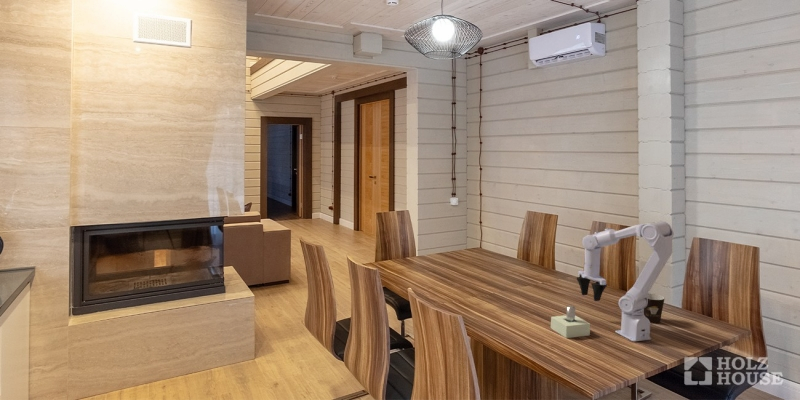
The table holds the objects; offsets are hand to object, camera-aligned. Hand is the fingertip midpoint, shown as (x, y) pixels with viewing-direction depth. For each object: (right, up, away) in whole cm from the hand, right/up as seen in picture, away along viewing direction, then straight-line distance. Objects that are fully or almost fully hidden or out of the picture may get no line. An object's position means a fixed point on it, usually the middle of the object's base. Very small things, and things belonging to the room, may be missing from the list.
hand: (590, 297), depth 184 cm
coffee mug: (+24, -10, +3) cm, 26 cm away
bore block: (-12, -11, -9) cm, 19 cm away
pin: (-12, -9, -9) cm, 18 cm away
